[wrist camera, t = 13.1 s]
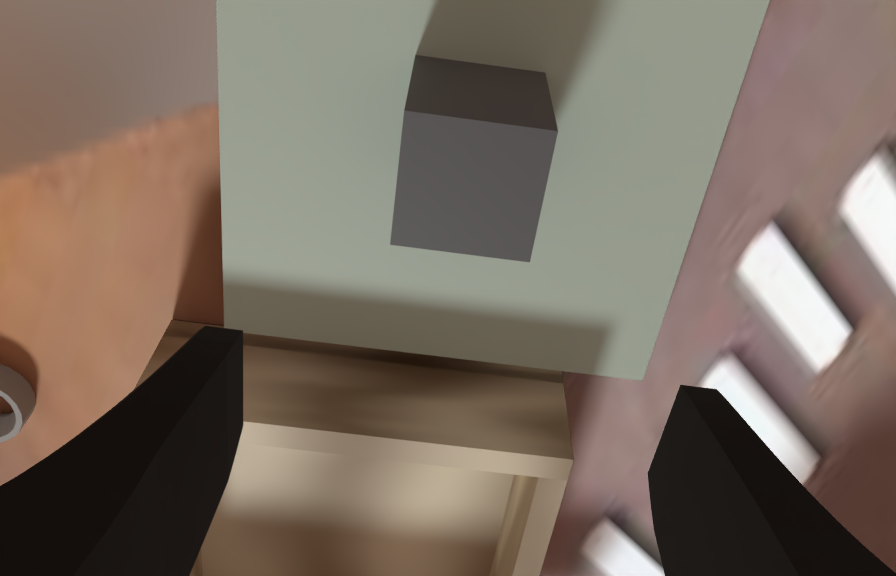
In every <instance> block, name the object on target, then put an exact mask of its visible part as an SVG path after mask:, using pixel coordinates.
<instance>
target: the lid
mask: <svg viewBox="0 0 896 576" xmlns="http://www.w3.org/2000/svg"><path fill="white" fill-rule="evenodd" d="M769 1H770V0H216V14H217V54H218V96H219V137H220V179H221V220H222V261H223V302H224V328H228V329H236V330H243V333H249V334H258V335H266V336H274V337H283V338H291V339H299V340H308V341H316V342H324V343H332V344H341V345H349V346H357V347H366V348H374V349H382V350H391V351H399V352H407V353H416V354H424V355H432V356H440V357H449V358H457V359H465V360H474V361H482V362H490V363H499V364H507V365H515V366H524V367H532V368H540V369H548V370H557V371H565V372H573V373H582V374H590V375H598V376H607V377H615V378H623V379H632V380H640V381H643V378H644V375H645V372H646V369H647V366H648V363H649V360H650V357H651V354H652V351H653V348H654V345H655V342H656V339H657V336H658V333H659V330H660V327H661V324H662V321H663V318H664V315H665V312H666V309H667V306H668V303H669V300H670V297H671V294H672V291H673V288H674V285H675V282H676V279H677V276H678V273H679V270H680V267H681V264H682V261H683V258H684V255H685V252H686V249H687V246H688V243H689V240H690V237H691V234H692V231H693V228H694V225H695V222H696V219H697V216H698V213H699V210H700V207H701V204H702V201H703V198H704V195H705V192H706V189H707V186H708V183H709V180H710V177H711V174H712V171H713V168H714V165H715V162H716V159H717V156H718V153H719V150H720V147H721V144H722V141H723V138H724V135H725V132H726V129H727V126H728V123H729V120H730V117H731V115H732V112H733V109H734V106H735V103H736V100H737V97H738V94H739V91H740V88H741V85H742V82H743V79H744V76H745V73H746V70H747V67H748V64H749V61H750V58H751V55H752V52H753V49H754V46H755V43H756V40H757V37H758V34H759V31H760V28H761V25H762V22H763V19H764V16H765V13H766V10H767V7H768V4H769Z"/></svg>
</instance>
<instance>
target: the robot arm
mask: <svg viewBox="0 0 896 576" xmlns="http://www.w3.org/2000/svg"><path fill="white" fill-rule="evenodd" d="M242 429H243V330H236V329H228V328H220V327H211V326H204V327H203V328H201V329H200V330H199V331H197V332H196V333H195V334H194V335H193V336H192V337H191V338H190V339H189V340H188V341H187V342H186V343H185V344H184V345H183V346H182V347H181V348H180V349H179V350H178V351H177V352H175V353H174V354H173V355H172V356H171V357H170V358H169V359H168V360H167V361H166V362H165V363H164V364H163V365H161V366H160V367H159V368H158V369H157V370H156V371H155V372H154V373H153V374H152V375H151V376H149V377H148V378H147V379H146V380H145V381H144V382H142V383H141V384H140V385H139V386H138V387H137V388H136V389H134V390H133V391H132V392H131V393H130V394H129V395H127V396H126V397H125V398H124V399H123V400H122V401H120V402H119V403H118V404H117V405H116V406H114V407H113V408H112V409H111V410H109V411H108V412H107V413H106V414H104V415H103V416H102V417H100V418H99V419H98V420H97V421H95V422H94V423H93V424H91V425H90V426H89V427H88V428H86V429H85V430H84V431H82V432H81V433H80V434H79V435H77V436H76V437H75V438H73V439H72V440H70V441H69V442H68V443H66V444H65V445H63V446H62V447H61V448H59V449H58V450H56V451H55V452H53V453H52V454H51V455H49V456H48V457H46V458H45V459H43V460H42V461H40V462H39V463H37V464H35V465H34V466H32V467H31V468H29V469H28V470H26V471H25V472H23V473H22V474H20V475H18V476H17V477H15V478H13V479H12V480H10V481H8V482H7V483H5V484H3V485H1V486H0V576H190V573H191V571H192V568H193V566H194V564H195V561H196V559H197V556H198V554H199V551H200V549H201V547H202V544H203V542H204V539H205V537H206V534H207V532H208V530H209V527H210V525H211V522H212V520H213V517H214V515H215V513H216V510H217V508H218V505H219V503H220V500H221V498H222V495H223V493H224V490H225V488H226V485H227V483H228V480H229V477H230V473H231V470H232V466H233V463H234V459H235V455H236V452H237V448H238V444H239V440H240V436H241V433H242ZM648 481H649V491H650V501H651V510H652V517H653V525H654V531H655V536H656V540H657V544H658V548H659V552H660V556H661V560H662V564H663V568H664V573H665V576H896V573H894V572H893V571H892V570H891V569H890V568H889V567H888V566H886V565H885V564H884V563H883V562H882V561H881V560H879V559H878V558H877V557H876V556H875V555H874V554H872V553H871V552H870V551H869V550H868V549H867V548H866V547H865V546H863V545H862V544H861V543H860V542H859V541H858V540H857V539H856V538H855V537H854V536H853V535H851V534H850V533H849V532H848V531H847V530H846V529H845V528H844V527H843V526H842V525H841V524H840V523H839V522H838V521H837V520H836V519H835V518H834V517H833V516H832V515H831V514H830V513H829V512H828V511H827V510H826V509H825V508H824V507H823V506H822V505H821V504H820V503H819V502H818V501H817V500H816V499H815V498H814V497H813V496H812V495H811V494H810V493H809V492H808V491H807V490H806V488H805V487H804V486H803V485H802V484H801V483H800V482H799V481H798V480H797V479H796V478H795V477H794V476H793V475H792V473H791V472H790V471H789V470H788V469H787V468H786V467H785V466H784V465H783V464H782V462H781V461H780V460H779V459H778V458H777V457H776V456H775V455H774V453H773V452H772V451H771V450H770V449H769V448H768V447H767V446H766V444H765V443H764V442H763V441H762V440H761V439H760V438H759V436H758V435H757V434H756V433H755V432H754V431H753V430H752V428H751V427H750V426H749V425H748V424H747V423H746V421H745V420H744V419H743V418H742V417H741V416H740V415H739V413H738V412H737V411H736V410H735V409H734V408H733V407H732V405H731V404H730V403H729V402H728V401H727V400H726V399H725V398H724V397H723V395H722V394H721V393H720V392H719V391H718V390H717V389H709V388H701V387H693V386H685V385H680V388H679V391H678V393H677V396H676V399H675V401H674V404H673V407H672V409H671V412H670V415H669V418H668V420H667V423H666V426H665V428H664V431H663V434H662V436H661V439H660V442H659V445H658V447H657V450H656V453H655V455H654V458H653V461H652V463H651V466H650V469H649V471H648Z"/></svg>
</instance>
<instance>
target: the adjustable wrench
mask: <svg viewBox="0 0 896 576" xmlns="http://www.w3.org/2000/svg"><path fill="white" fill-rule="evenodd" d="M0 396H1V397H3V398H4V399H5V400H6V401H7V402H8V403H9V404H10V405H11V407H12V409H13V411H14V412H13V413H10V414H0V442H3V441H6V440H9V439H11V438H13V437H14V436H15V435H16V434H18V433H19V432H20V430H21V429H22V427H23V426H24V424H25V423H26V421H27V420H28V418H29V417H30V415H31V414H32V412H33V410H34V407H35V405H36V398H35V393H34V391H33V389H32V387H31V385H30V384H29V383H28V382H27V380H26V379H25V378H24V377H23V376H22V375H20V374H19V373H17V372H16V371H14V370H13V369H11V368H10V367H7V366H5V365H2V364H0Z"/></svg>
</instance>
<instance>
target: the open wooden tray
mask: <svg viewBox="0 0 896 576" xmlns="http://www.w3.org/2000/svg"><path fill="white" fill-rule="evenodd" d="M204 326H211V327H220V328H224V326H218V325H210V324H202V323H193V322H185V321H177V320H171V322H170V324H169V326H168V328H167V329H166V331H165V333H164V335H163V337H162V339H161V340H160V342H159V344H158V346H157V348H156V350H155V352H154V353H153V355H152V357H151V359H150V361H149V363H148V365H147V366H146V368H145V370H144V372H143V374H142V376H141V377H140V379H139V381H138V383H137V385H136V387H135V389H136V388H137V387H138V386H139V385H140V384H141V383H142V382H144V381H145V380H146V379H147V378H148V377H149V376H151V375H152V374H153V373H154V372H155V371H156V370H157V369H158V368H159V367H160V366H161V365H163V364H164V363H165V362H166V361H167V360H168V359H169V358H170V357H171V356H172V355H173V354H174V353H175V352H177V351H178V350H179V349H180V348H181V347H182V346H183V345H184V344H185V343H186V342H187V341H188V340H189V339H190V338H191V337H192V336H193V335H194V334H195V333H196V332H197V331H199V330H200V329H201V328H203V327H204ZM573 461H574V458H573V451H572V444H571V437H570V429H569V422H568V415H567V408H566V400H565V393H564V386H563V379H562V371H557V370H548V369H540V368H532V367H524V366H515V365H507V364H499V363H490V362H482V361H474V360H465V359H457V358H449V357H440V356H432V355H424V354H416V353H407V352H399V351H391V350H382V349H374V348H366V347H357V346H349V345H341V344H332V343H324V342H316V341H308V340H299V339H291V338H283V337H274V336H266V335H258V334H249V333H243V429H242V433H241V436H240V440H239V444H238V448H237V452H236V455H235V459H234V463H233V466H232V470H231V473H230V477H229V480H228V483H227V485H226V488H225V490H224V493H223V495H222V498H221V500H220V503H219V505H218V508H217V510H216V513H215V515H214V517H213V520H212V522H211V525H210V527H209V530H208V532H207V534H206V537H205V539H204V542H203V544H202V547H201V549H200V551H199V554H198V556H197V559H196V561H195V564H194V566H193V568H192V571H191V573H190V576H539V575H540V572H541V569H542V565H543V562H544V559H545V555H546V552H547V548H548V545H549V542H550V538H551V535H552V532H553V528H554V525H555V521H556V518H557V515H558V511H559V508H560V504H561V501H562V498H563V494H564V491H565V488H566V484H567V481H568V477H569V474H570V471H571V467H572V464H573Z"/></svg>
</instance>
